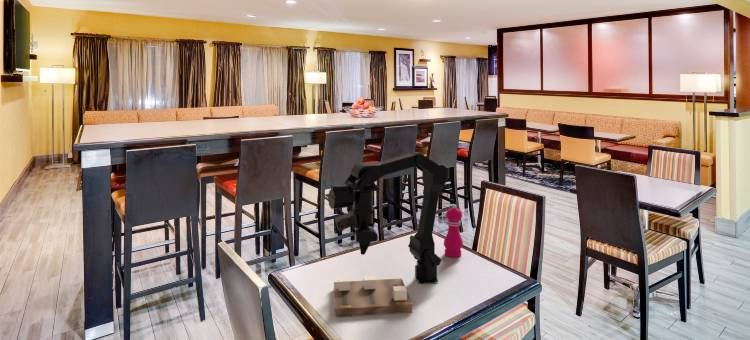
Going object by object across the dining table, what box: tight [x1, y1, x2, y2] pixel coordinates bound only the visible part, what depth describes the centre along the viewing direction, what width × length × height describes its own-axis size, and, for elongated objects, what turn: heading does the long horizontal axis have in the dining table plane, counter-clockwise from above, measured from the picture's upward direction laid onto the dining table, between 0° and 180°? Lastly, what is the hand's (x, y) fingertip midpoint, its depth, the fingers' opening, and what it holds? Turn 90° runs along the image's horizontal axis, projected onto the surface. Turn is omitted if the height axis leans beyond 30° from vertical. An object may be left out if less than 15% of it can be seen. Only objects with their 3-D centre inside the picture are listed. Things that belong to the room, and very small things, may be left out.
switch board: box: [333, 278, 413, 318], centre depth 133 cm, size 22×17×3 cm
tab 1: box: [337, 276, 351, 291], centre depth 134 cm, size 4×3×3 cm
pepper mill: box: [443, 203, 464, 259], centre depth 166 cm, size 7×7×20 cm
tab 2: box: [363, 275, 377, 289], centre depth 135 cm, size 4×3×3 cm
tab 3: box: [393, 285, 408, 301], centre depth 128 cm, size 4×3×3 cm
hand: (362, 254), depth 135 cm, fingers closed
